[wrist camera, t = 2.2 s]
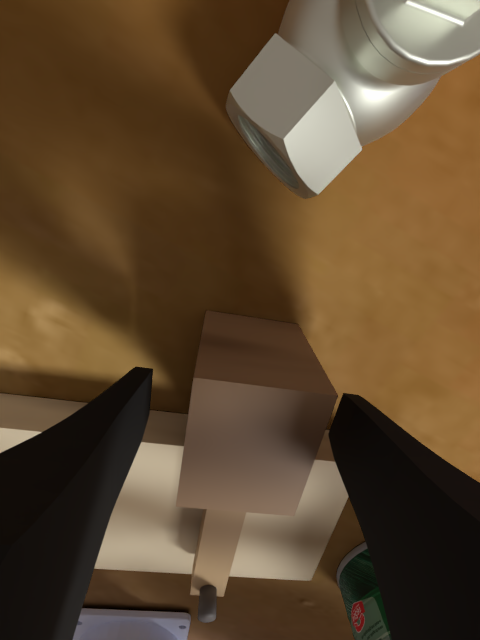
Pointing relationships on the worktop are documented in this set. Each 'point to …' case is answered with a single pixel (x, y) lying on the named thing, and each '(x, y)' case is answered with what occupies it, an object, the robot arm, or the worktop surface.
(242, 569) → the board
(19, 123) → the worktop surface
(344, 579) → the canned tomato
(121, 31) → the worktop surface
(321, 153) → the valve
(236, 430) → the mallet
